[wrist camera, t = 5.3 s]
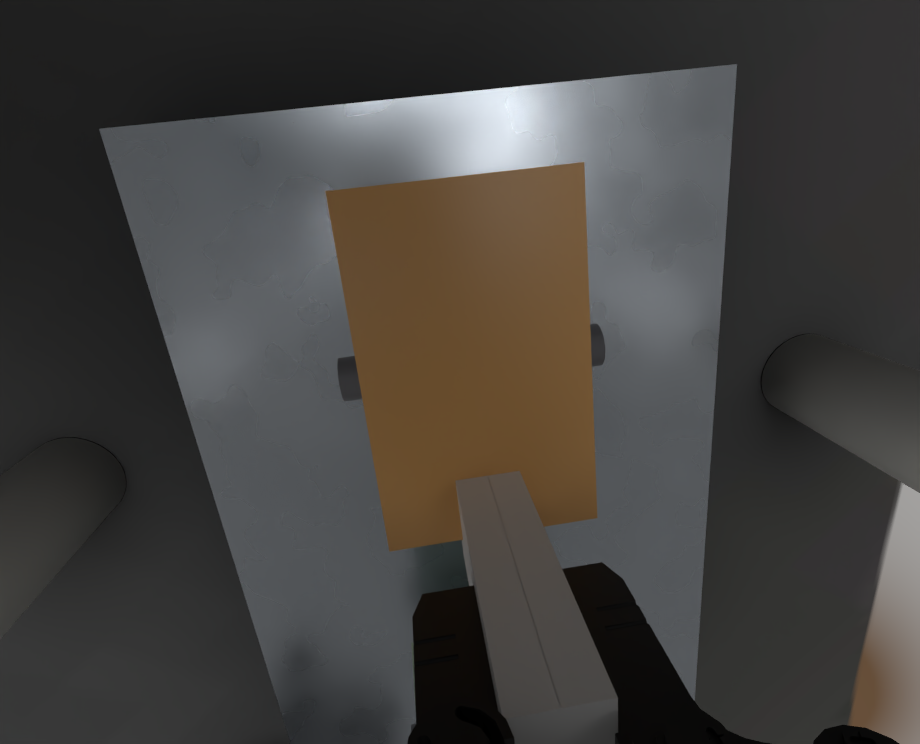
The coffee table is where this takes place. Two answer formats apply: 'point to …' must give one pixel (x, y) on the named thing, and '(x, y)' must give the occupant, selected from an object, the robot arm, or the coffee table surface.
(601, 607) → the robot arm
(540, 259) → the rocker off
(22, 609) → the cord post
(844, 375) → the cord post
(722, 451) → the coffee table surface
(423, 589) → the panel
